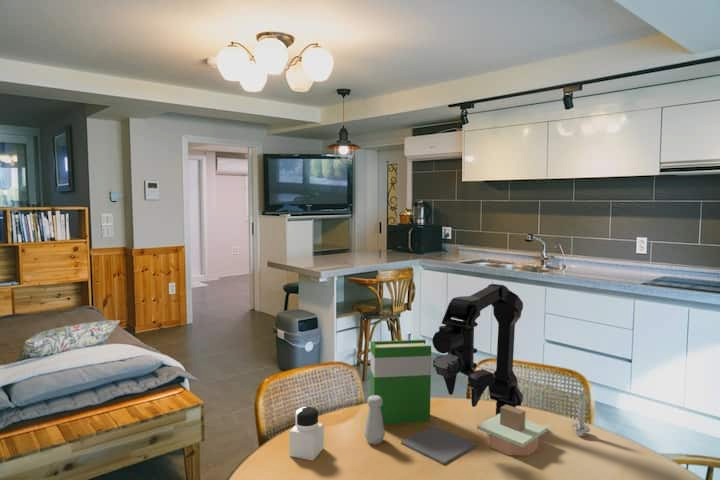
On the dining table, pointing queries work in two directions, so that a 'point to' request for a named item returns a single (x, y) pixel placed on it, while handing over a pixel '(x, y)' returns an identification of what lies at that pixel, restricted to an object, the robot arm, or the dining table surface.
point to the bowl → (511, 446)
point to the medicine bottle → (306, 435)
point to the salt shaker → (374, 421)
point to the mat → (439, 444)
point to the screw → (581, 418)
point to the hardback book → (401, 380)
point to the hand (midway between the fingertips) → (462, 400)
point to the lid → (512, 426)
